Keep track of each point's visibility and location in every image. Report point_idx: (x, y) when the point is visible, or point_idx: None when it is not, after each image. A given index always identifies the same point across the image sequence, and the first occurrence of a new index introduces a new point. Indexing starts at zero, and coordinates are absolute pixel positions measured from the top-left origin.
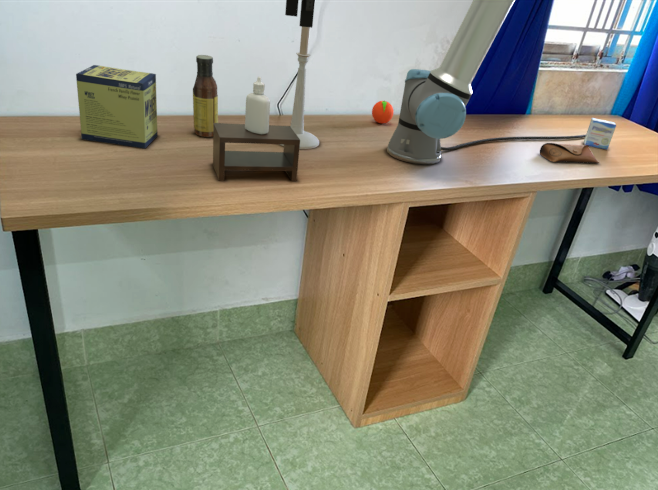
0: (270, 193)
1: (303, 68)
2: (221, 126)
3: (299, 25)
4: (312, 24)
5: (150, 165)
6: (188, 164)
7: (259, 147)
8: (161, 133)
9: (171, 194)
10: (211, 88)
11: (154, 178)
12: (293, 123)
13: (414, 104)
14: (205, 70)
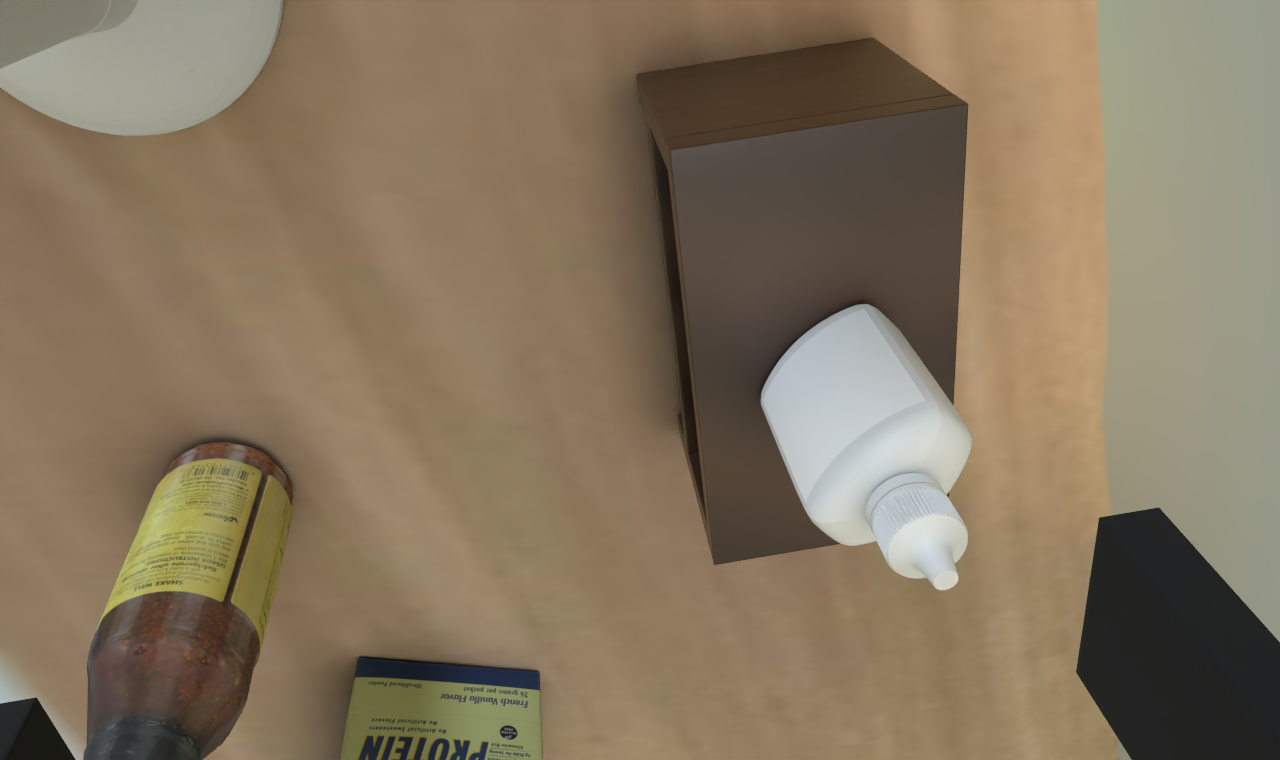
0: (1024, 186)
1: None
2: (770, 528)
3: (1078, 675)
4: (1184, 542)
5: (723, 630)
6: (692, 518)
7: (346, 219)
8: (306, 649)
9: (1006, 539)
10: (224, 659)
11: (855, 602)
12: (96, 22)
13: None
14: None
